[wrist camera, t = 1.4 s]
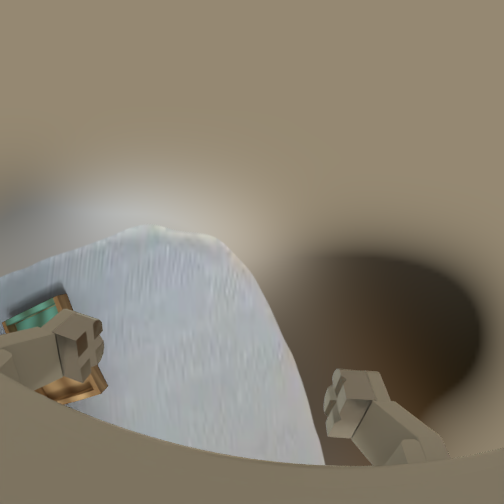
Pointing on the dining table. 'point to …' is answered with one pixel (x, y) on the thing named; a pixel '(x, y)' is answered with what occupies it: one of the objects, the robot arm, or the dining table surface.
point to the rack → (63, 387)
